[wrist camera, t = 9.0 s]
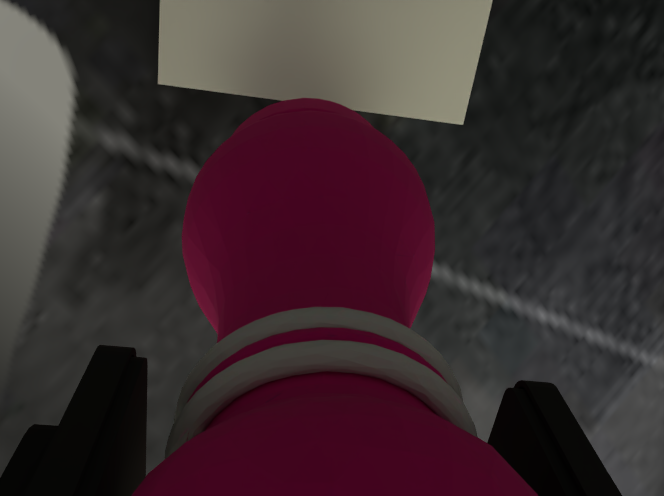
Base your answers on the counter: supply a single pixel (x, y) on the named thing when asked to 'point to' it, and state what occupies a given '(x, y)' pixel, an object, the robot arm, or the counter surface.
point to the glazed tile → (329, 51)
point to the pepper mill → (317, 324)
